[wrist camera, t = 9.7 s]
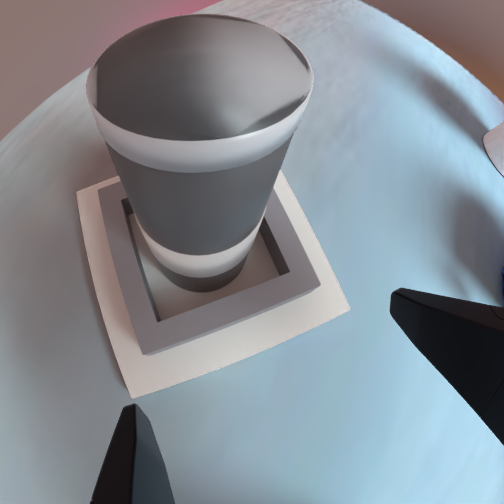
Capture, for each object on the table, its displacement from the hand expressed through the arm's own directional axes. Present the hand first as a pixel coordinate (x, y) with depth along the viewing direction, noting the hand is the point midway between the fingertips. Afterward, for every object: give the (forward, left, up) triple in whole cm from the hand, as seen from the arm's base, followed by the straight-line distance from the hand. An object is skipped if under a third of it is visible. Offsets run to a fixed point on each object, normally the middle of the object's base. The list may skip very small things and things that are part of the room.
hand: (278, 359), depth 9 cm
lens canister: (+2, -7, -8) cm, 11 cm away
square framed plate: (+2, -7, -9) cm, 12 cm away
